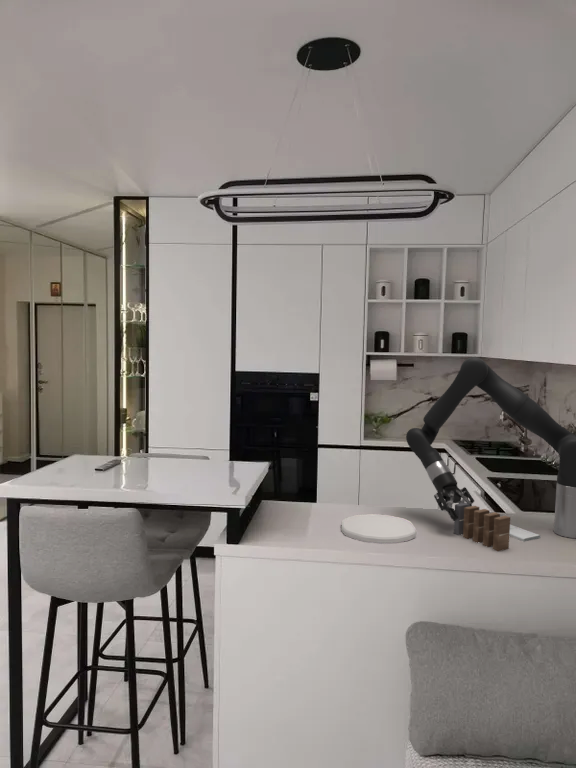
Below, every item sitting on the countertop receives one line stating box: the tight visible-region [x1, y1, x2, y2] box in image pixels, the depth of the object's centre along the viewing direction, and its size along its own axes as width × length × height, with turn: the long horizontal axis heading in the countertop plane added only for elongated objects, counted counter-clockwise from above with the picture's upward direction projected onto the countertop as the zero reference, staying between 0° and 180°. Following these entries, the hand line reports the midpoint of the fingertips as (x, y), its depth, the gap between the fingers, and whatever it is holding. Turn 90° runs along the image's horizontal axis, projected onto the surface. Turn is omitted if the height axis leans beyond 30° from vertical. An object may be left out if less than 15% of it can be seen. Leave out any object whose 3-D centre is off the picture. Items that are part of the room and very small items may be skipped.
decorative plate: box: [341, 513, 417, 544], centre depth 192 cm, size 25×4×25 cm
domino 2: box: [462, 505, 480, 540], centre depth 188 cm, size 2×5×10 cm, turn 121°
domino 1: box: [453, 502, 470, 536], centre depth 191 cm, size 2×5×10 cm, turn 122°
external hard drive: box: [509, 524, 541, 543], centre depth 192 cm, size 2×8×12 cm
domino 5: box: [492, 515, 511, 552], centre depth 177 cm, size 2×5×10 cm, turn 121°
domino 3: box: [472, 508, 490, 544], centre depth 184 cm, size 2×5×10 cm, turn 121°
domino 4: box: [482, 512, 501, 548], centre depth 181 cm, size 2×5×10 cm, turn 121°
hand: (465, 517), depth 190 cm, fingers open, 8 cm apart
